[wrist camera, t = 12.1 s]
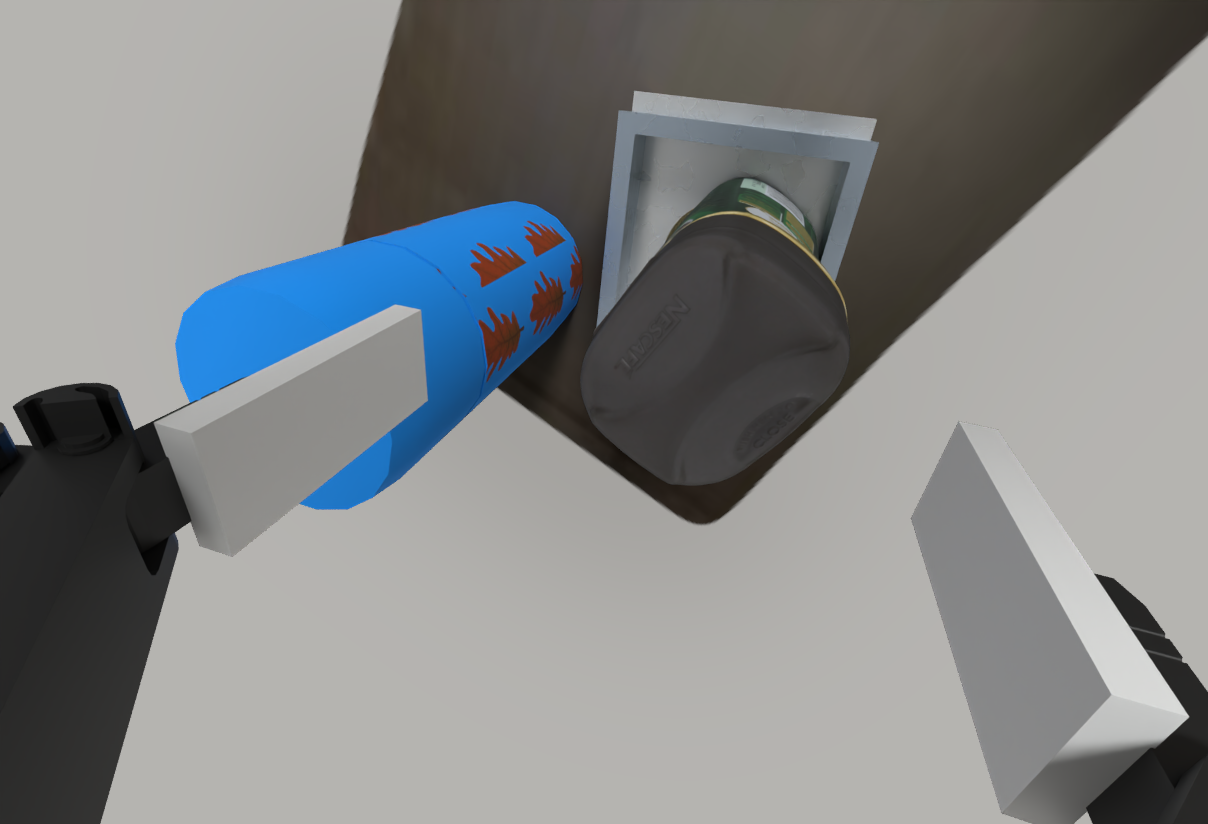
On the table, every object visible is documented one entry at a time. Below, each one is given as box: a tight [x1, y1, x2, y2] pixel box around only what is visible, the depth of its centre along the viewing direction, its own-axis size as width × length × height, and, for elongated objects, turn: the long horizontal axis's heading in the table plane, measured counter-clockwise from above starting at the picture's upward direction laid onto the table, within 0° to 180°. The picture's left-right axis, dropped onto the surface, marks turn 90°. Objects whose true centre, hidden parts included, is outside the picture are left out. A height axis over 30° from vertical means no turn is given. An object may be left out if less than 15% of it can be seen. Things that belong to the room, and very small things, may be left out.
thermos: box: [175, 201, 583, 509], centre depth 34 cm, size 11×11×25 cm
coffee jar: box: [580, 178, 850, 486], centre depth 26 cm, size 10×8×19 cm
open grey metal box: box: [597, 91, 879, 326], centre depth 35 cm, size 13×17×9 cm
